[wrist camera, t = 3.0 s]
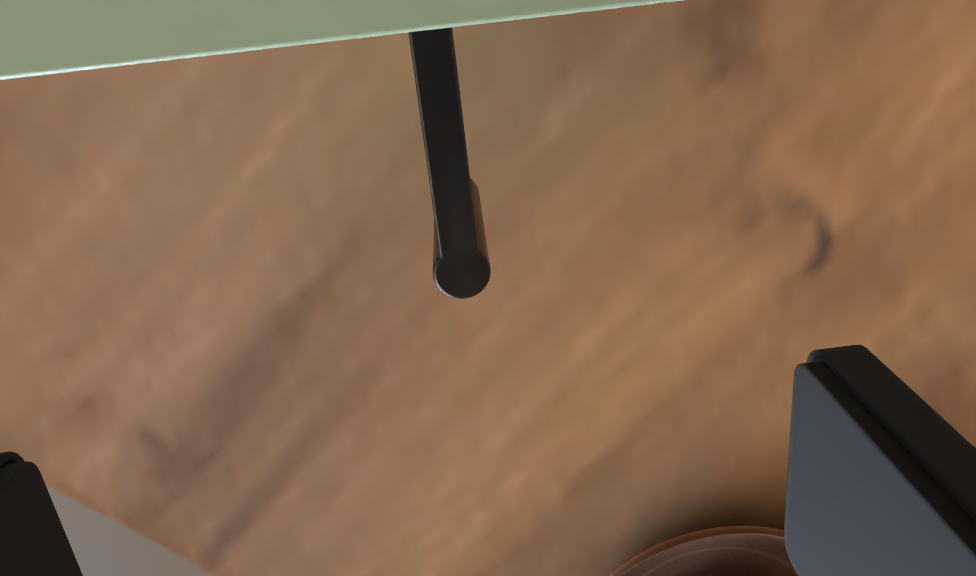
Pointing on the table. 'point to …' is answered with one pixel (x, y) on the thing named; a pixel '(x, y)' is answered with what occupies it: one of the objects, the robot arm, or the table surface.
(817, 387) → the robot arm
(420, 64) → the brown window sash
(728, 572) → the cup and saucer
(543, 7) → the window frame
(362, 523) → the table surface
